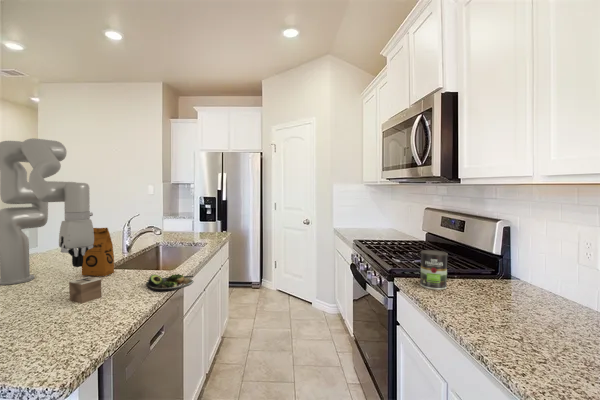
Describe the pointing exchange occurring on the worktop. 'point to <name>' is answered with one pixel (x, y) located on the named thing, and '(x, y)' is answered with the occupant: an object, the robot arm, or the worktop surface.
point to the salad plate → (168, 282)
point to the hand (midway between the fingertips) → (77, 266)
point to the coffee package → (99, 255)
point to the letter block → (85, 289)
